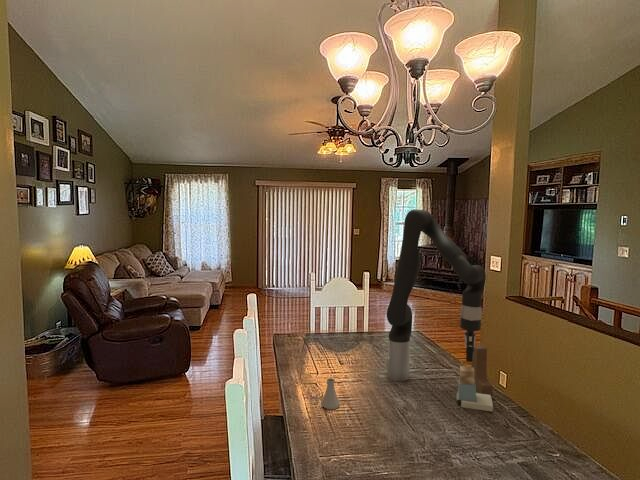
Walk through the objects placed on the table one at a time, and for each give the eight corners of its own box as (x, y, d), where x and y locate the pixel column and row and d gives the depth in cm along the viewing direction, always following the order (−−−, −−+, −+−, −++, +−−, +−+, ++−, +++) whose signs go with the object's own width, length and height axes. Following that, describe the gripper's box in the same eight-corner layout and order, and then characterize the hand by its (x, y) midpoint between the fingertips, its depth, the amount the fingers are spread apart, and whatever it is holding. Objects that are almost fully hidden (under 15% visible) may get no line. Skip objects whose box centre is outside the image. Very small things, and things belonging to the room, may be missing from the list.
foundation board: (456, 406, 151) (456, 401, 151) (456, 395, 160) (456, 390, 160) (492, 411, 147) (493, 406, 147) (490, 399, 156) (490, 394, 156)
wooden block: (492, 396, 160) (493, 352, 159) (481, 396, 159) (483, 352, 158) (480, 386, 169) (481, 344, 167) (470, 387, 168) (471, 345, 167)
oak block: (460, 383, 152) (460, 370, 152) (459, 378, 157) (460, 365, 157) (474, 385, 151) (474, 372, 150) (473, 379, 155) (473, 367, 155)
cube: (458, 398, 152) (459, 383, 152) (458, 392, 158) (458, 377, 158) (475, 401, 150) (475, 385, 150) (474, 394, 156) (475, 379, 156)
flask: (342, 403, 153) (342, 377, 152) (336, 411, 146) (336, 385, 146) (324, 400, 155) (324, 375, 155) (318, 408, 149) (318, 382, 148)
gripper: (460, 311, 162) (458, 350, 163) (460, 320, 149) (458, 362, 150) (480, 313, 160) (478, 353, 161) (482, 322, 146) (480, 365, 147)
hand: (468, 357), depth 155 cm, fingers open, 8 cm apart
